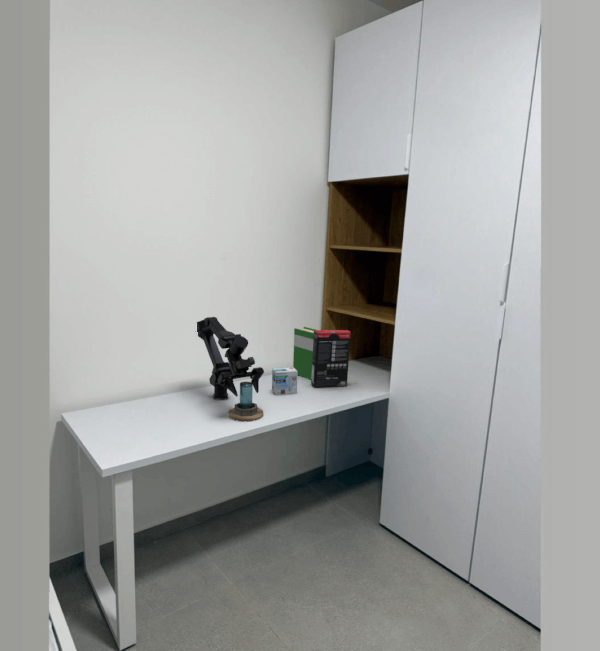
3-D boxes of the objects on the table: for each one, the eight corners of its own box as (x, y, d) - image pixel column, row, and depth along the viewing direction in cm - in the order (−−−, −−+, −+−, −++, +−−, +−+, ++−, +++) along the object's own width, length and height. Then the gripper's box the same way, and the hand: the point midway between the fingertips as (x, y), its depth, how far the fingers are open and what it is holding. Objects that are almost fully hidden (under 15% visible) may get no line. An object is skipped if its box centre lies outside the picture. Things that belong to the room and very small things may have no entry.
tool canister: (237, 413, 201) (237, 384, 198) (243, 408, 205) (243, 380, 203) (248, 415, 199) (249, 386, 197) (254, 410, 204) (254, 382, 201)
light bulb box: (275, 395, 227) (275, 372, 224) (271, 390, 233) (271, 368, 231) (297, 393, 230) (298, 370, 228) (293, 388, 236) (293, 366, 234)
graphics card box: (343, 382, 248) (346, 328, 243) (348, 386, 242) (351, 331, 236) (310, 384, 244) (312, 329, 238) (314, 388, 237) (316, 332, 232)
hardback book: (293, 373, 260) (294, 328, 255) (303, 371, 265) (304, 326, 260) (316, 382, 247) (318, 334, 243) (327, 379, 252) (329, 332, 248)
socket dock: (228, 409, 208) (228, 400, 207) (261, 408, 210) (261, 399, 209) (228, 422, 194) (228, 412, 194) (264, 420, 197) (264, 411, 196)
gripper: (220, 353, 196) (232, 388, 189) (262, 348, 206) (275, 381, 199) (212, 367, 204) (223, 401, 197) (253, 362, 214) (265, 394, 207)
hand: (247, 394), depth 199 cm, fingers open, 9 cm apart
